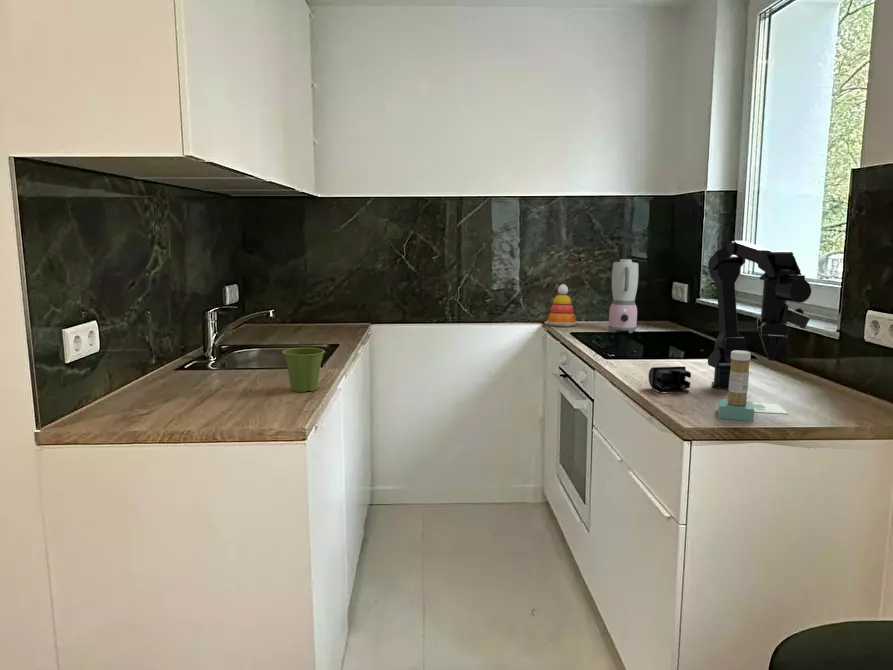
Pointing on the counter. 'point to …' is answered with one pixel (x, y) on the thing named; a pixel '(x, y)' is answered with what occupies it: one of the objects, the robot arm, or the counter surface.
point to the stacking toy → (562, 310)
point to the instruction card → (768, 408)
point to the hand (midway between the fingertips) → (769, 357)
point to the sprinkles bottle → (739, 377)
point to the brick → (735, 411)
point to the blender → (624, 296)
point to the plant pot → (303, 367)
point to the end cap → (669, 379)
